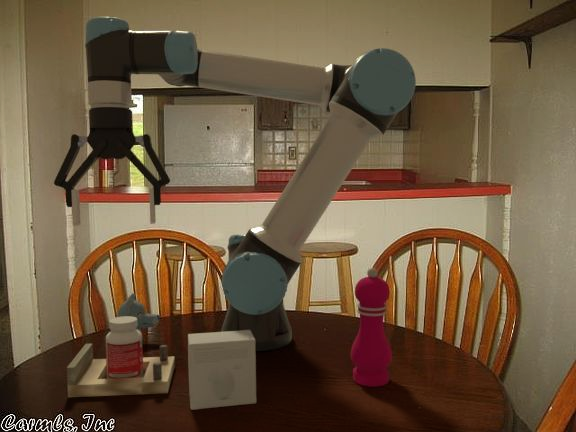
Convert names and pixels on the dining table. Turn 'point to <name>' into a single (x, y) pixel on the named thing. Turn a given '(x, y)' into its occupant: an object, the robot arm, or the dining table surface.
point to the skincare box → (221, 369)
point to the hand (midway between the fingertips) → (115, 224)
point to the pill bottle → (124, 349)
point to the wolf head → (138, 313)
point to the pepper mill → (371, 332)
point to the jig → (91, 378)
